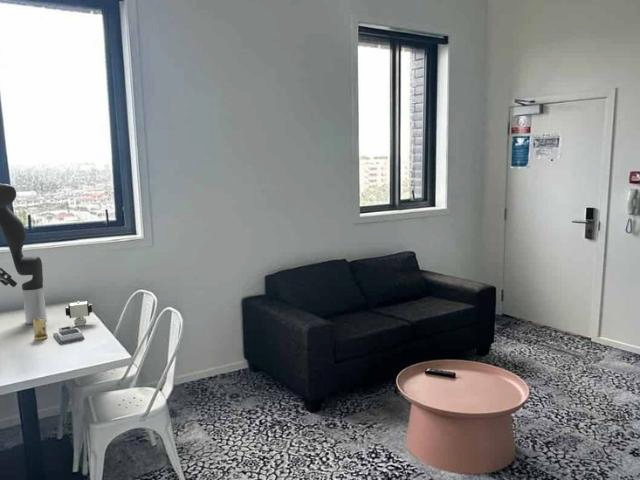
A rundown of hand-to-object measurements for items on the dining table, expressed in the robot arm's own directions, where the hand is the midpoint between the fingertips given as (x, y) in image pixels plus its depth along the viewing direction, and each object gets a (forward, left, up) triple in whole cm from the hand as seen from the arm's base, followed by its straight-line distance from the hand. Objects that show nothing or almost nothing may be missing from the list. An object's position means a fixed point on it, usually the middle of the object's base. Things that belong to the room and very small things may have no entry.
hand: (11, 284), depth 229 cm
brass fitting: (0, +9, -26) cm, 28 cm away
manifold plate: (+8, +19, -26) cm, 33 cm away
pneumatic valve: (-10, +28, -27) cm, 40 cm away
